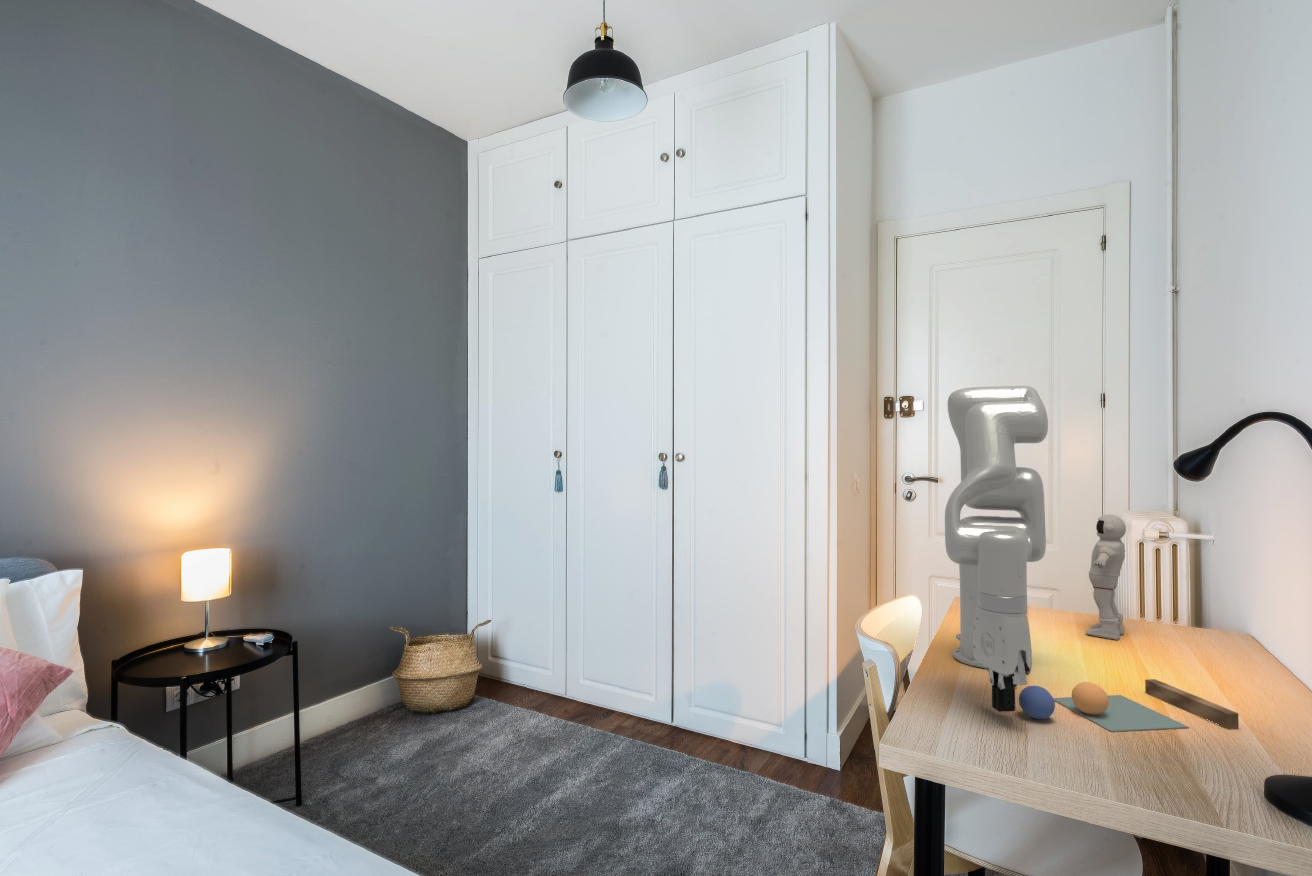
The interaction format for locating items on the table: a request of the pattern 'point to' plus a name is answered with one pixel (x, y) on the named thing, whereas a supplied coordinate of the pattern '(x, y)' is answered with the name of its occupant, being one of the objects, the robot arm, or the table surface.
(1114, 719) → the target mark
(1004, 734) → the table surface
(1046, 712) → the blue ball
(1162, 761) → the table surface
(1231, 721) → the rail
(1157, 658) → the table surface
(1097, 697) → the orange ball
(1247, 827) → the table surface
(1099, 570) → the toy
